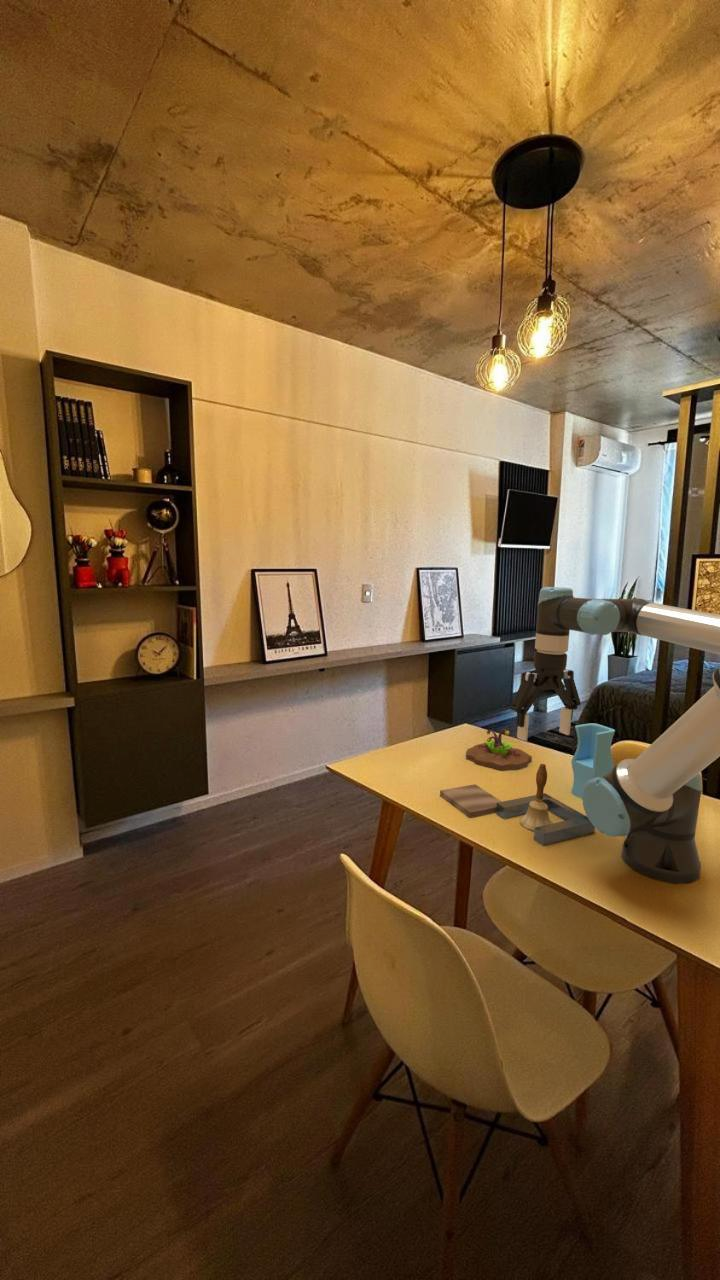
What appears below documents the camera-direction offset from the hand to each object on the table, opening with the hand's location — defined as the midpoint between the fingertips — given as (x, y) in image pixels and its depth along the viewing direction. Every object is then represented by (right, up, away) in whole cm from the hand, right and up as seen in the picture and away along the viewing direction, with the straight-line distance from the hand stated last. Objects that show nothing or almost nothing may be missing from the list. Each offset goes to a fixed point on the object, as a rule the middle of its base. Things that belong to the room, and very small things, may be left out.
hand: (543, 736), depth 129 cm
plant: (+1, -17, +48) cm, 51 cm away
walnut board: (-14, -21, +14) cm, 29 cm away
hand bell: (-1, -23, +3) cm, 23 cm away
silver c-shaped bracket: (+1, -23, +4) cm, 23 cm away
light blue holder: (+21, -21, +21) cm, 36 cm away
